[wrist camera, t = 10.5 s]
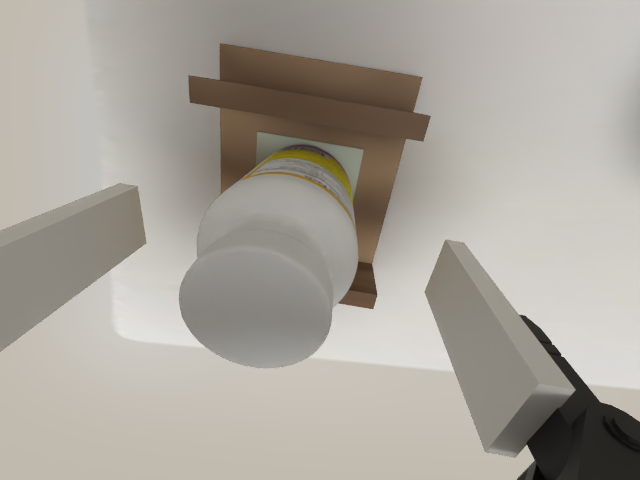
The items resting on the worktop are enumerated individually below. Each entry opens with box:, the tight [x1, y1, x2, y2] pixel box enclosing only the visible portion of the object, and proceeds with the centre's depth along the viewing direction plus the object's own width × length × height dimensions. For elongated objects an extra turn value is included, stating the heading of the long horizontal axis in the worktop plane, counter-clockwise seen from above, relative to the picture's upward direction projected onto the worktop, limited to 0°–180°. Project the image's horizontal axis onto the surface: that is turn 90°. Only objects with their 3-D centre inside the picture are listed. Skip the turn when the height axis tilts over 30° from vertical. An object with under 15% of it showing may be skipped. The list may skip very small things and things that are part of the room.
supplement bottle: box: [179, 145, 358, 368], centre depth 14 cm, size 7×7×13 cm
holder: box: [188, 43, 431, 309], centre depth 19 cm, size 16×12×5 cm
